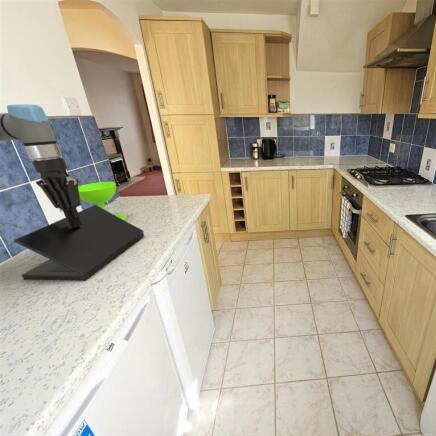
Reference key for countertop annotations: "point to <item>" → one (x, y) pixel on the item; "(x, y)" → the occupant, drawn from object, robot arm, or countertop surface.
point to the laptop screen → (82, 239)
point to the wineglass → (99, 194)
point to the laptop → (59, 272)
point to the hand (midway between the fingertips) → (76, 225)
